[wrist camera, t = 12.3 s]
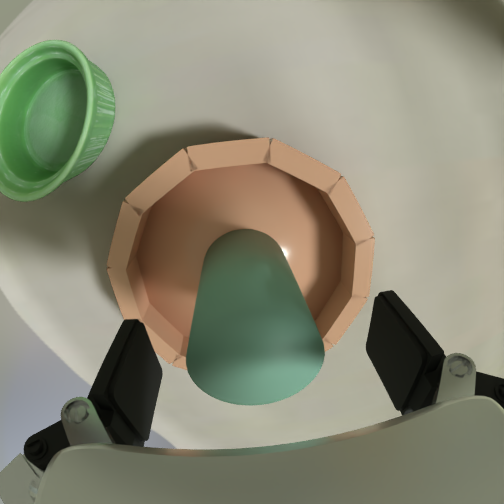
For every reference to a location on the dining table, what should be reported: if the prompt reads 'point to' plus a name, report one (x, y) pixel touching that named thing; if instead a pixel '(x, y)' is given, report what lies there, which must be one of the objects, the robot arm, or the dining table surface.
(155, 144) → the dining table surface
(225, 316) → the teal tapered rounded piece
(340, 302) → the round dish
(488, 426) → the robot arm
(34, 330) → the dining table surface
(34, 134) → the ramekin
